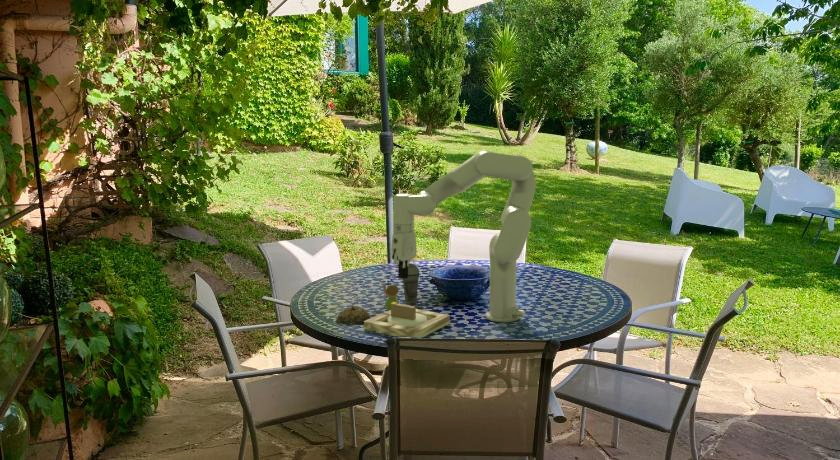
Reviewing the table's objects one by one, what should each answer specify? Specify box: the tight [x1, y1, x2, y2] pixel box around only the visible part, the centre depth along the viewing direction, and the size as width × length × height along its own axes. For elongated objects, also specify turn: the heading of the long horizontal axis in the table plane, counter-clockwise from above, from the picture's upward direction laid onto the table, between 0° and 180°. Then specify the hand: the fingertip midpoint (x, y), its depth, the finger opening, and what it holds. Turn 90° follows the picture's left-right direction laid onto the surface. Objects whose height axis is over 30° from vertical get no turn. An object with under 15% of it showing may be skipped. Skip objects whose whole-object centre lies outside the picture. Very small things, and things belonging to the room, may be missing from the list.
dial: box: [388, 302, 427, 328], centre depth 232 cm, size 14×14×6 cm
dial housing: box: [363, 308, 451, 338], centre depth 233 cm, size 22×22×3 cm
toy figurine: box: [381, 280, 400, 311], centre depth 251 cm, size 5×6×12 cm
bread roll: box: [335, 305, 371, 325], centre depth 242 cm, size 13×12×5 cm
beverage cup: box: [402, 262, 421, 304], centre depth 263 cm, size 7×7×20 cm
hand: (403, 277), depth 239 cm, fingers closed
